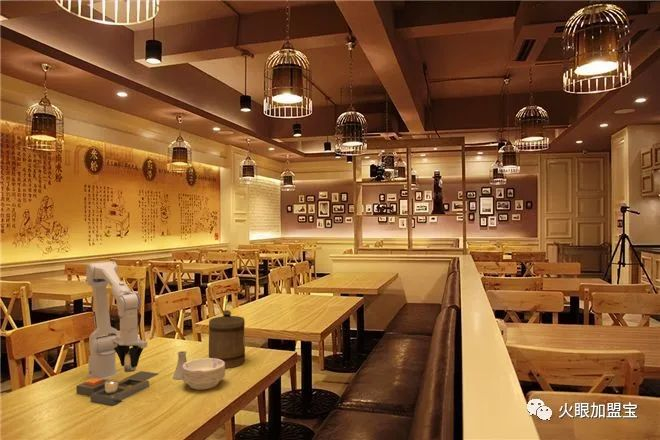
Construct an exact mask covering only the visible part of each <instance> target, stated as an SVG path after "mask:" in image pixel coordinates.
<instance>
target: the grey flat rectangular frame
mask: <svg viewBox="0 0 660 440" xmlns="http://www.w3.org/2000/svg"><path fill="white" fill-rule="evenodd" d="M125 378H126V379H124V378H123V379H121V380H118V393H117V394H115V395H113V396H107V395H105V388H103V389H101V390H99V391H96V392H94V393H92V394H91V397H90V402H92V403H97V404H103V405H107V406H111V407H112V406H116V405H118V404H120V403H121V402H123V400H124V399H125V400H126V399H127V398H129V397H131V396H133V395H135V394H137V393H138V392H141V391H144V390H146V389H147V388H149V387H150V380H139V379H133V378H127V377H125ZM128 386H129V387H128Z"/></svg>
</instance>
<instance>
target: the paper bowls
mask: <svg viewBox="0 0 660 440" xmlns="http://www.w3.org/2000/svg"><path fill="white" fill-rule="evenodd" d="M225 374H226V368H225V362H224V361H222V360H220V359H216V358H209V357H203V358H202V357H201V358H196V359H195V358H194V359H191V360H188V361H187V362H186V363H184V364H183V366H182V380H181V381H183V382H184V383H186V384H187V386H188V387H190V389H193V390H199V391H201V390H202V391H203V390H209V389H213V388H214V387H216V386H217V385H218V384H219V383H220V381H222V380H224V378H225V376H226V375H225Z"/></svg>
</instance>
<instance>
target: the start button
mask: <svg viewBox="0 0 660 440" xmlns="http://www.w3.org/2000/svg"><path fill="white" fill-rule="evenodd" d="M103 379H104V378H103ZM103 379H99V378H94V377H92V378H91V379H88V380H86V381H85V382H86V385H89V386H96V385H98V384H101V383H103Z"/></svg>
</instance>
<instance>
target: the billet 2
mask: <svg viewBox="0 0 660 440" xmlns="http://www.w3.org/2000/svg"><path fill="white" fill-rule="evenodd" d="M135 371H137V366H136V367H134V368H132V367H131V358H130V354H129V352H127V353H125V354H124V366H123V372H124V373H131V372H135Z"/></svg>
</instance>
